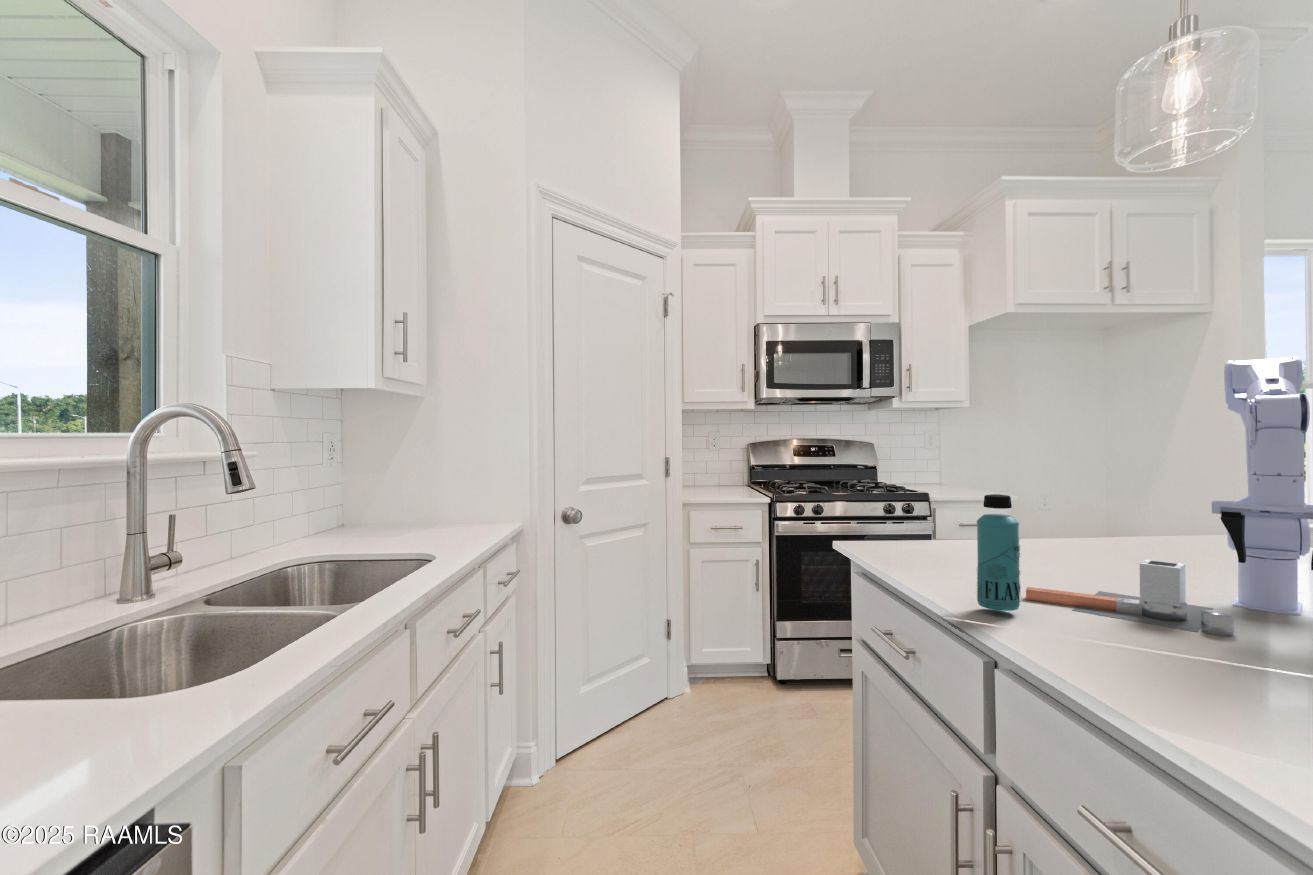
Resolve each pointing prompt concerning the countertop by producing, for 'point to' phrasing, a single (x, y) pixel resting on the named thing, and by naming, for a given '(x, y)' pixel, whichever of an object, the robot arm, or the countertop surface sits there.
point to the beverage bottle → (998, 557)
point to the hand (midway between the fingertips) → (1277, 565)
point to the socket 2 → (1217, 623)
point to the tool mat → (1189, 625)
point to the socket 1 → (1162, 582)
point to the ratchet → (1110, 604)
